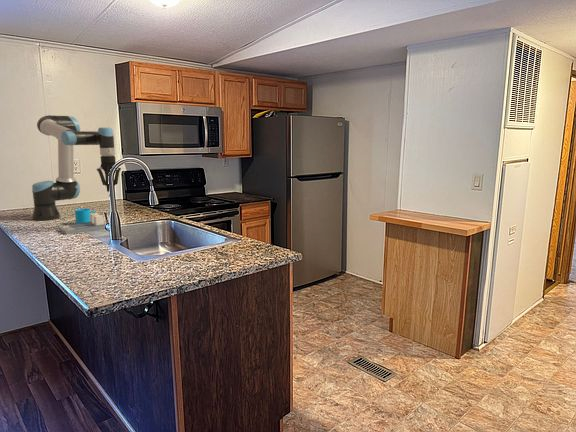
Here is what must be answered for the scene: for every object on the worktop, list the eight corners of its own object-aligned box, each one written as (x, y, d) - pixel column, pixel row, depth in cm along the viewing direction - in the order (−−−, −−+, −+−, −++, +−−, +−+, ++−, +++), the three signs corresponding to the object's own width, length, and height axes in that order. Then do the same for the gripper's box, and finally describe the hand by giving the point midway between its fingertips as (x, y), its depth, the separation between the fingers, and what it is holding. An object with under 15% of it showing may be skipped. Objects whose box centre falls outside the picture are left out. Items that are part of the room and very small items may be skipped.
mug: (78, 225, 239) (77, 211, 238) (74, 223, 245) (73, 209, 244) (99, 222, 247) (98, 209, 246) (95, 220, 253) (94, 207, 252)
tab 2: (94, 224, 229) (93, 215, 228) (101, 223, 232) (100, 215, 231) (96, 225, 226) (95, 216, 226) (103, 224, 229) (103, 216, 228)
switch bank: (58, 230, 225) (57, 226, 225) (106, 223, 243) (105, 219, 242) (66, 234, 215) (65, 230, 215) (115, 227, 233) (115, 223, 233)
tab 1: (90, 222, 235) (89, 213, 234) (97, 221, 238) (96, 213, 237) (92, 223, 233) (91, 214, 232) (99, 222, 235) (99, 213, 234)
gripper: (98, 156, 220) (102, 199, 225) (122, 155, 229) (125, 196, 234) (93, 155, 226) (97, 197, 230) (116, 155, 235) (120, 195, 239)
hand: (111, 197), depth 232 cm, fingers closed
